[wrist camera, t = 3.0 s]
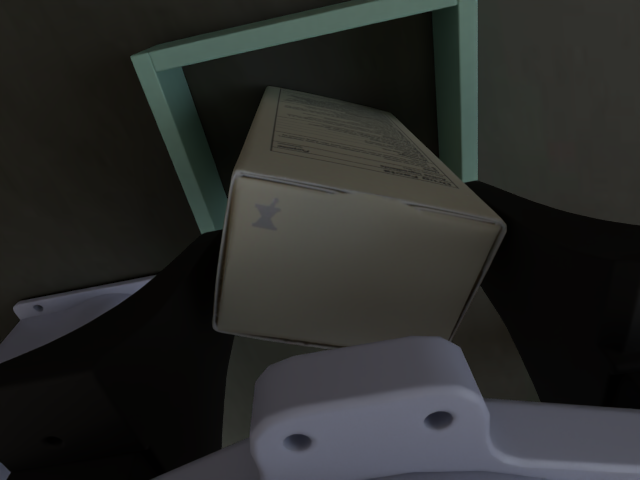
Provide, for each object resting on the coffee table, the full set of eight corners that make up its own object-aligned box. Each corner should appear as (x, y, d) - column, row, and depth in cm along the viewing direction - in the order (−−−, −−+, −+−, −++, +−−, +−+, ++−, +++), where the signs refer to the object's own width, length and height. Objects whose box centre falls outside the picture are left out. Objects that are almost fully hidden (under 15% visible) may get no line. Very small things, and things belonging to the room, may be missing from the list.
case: (236, 260, 24) (227, 299, 21) (157, 44, 18) (129, 56, 15) (454, 218, 23) (477, 253, 20) (447, -22, 17) (478, -23, 14)
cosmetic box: (251, 172, 21) (193, 335, 10) (266, 81, 19) (213, 163, 8) (375, 197, 22) (445, 373, 11) (401, 113, 20) (517, 224, 9)
